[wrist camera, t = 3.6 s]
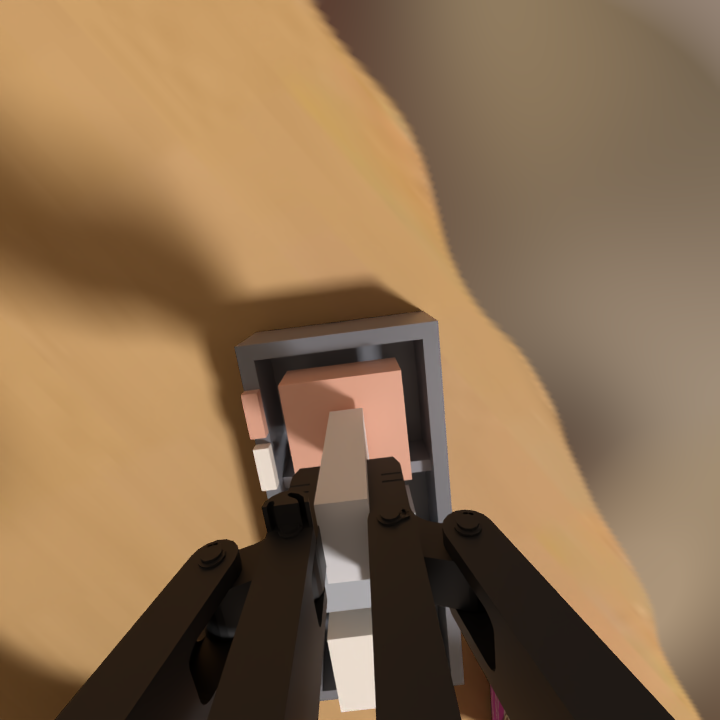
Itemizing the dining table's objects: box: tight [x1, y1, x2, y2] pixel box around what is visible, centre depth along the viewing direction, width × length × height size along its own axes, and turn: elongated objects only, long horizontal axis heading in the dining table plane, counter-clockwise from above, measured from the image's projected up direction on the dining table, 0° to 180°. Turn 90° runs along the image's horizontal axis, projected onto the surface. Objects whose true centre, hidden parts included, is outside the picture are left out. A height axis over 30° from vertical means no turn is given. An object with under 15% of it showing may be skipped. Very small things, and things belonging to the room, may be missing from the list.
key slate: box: [325, 485, 416, 613], centre depth 20 cm, size 6×6×2 cm
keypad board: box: [234, 311, 464, 701], centre depth 22 cm, size 10×24×5 cm, turn 7°
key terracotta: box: [278, 357, 412, 480], centre depth 18 cm, size 6×6×2 cm
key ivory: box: [327, 608, 376, 712], centre depth 22 cm, size 6×6×2 cm
